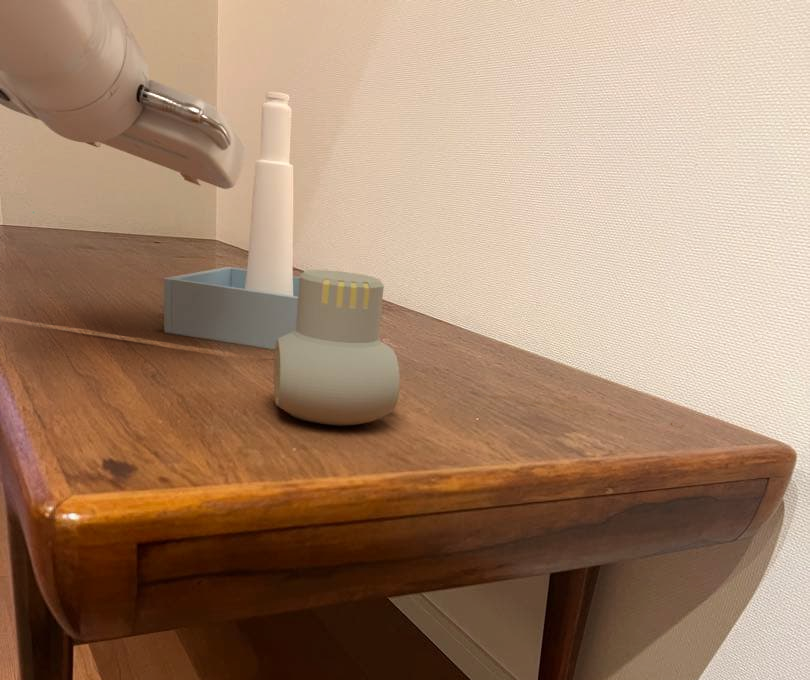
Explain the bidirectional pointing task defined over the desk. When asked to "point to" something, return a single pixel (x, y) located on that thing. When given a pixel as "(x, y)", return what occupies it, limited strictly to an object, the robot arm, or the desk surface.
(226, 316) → the basket
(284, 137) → the cosmetic bottle
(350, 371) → the air freshener
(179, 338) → the desk surface
